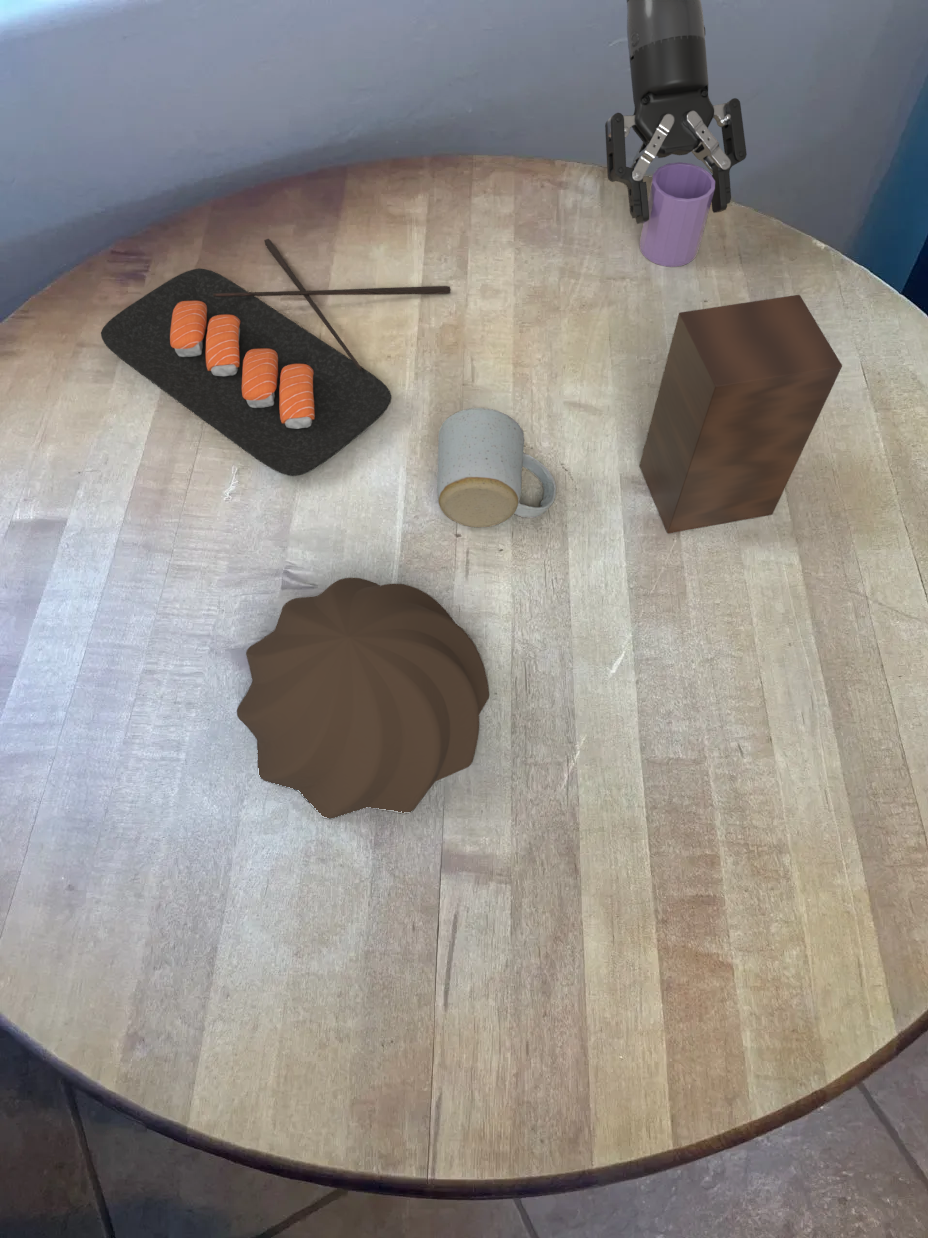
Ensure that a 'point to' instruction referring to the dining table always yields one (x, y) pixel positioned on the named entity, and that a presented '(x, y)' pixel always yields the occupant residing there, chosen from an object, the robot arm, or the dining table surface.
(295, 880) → the dining table surface
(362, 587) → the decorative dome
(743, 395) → the block
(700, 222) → the tumbler
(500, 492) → the ceramic mug
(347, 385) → the sushi plate
